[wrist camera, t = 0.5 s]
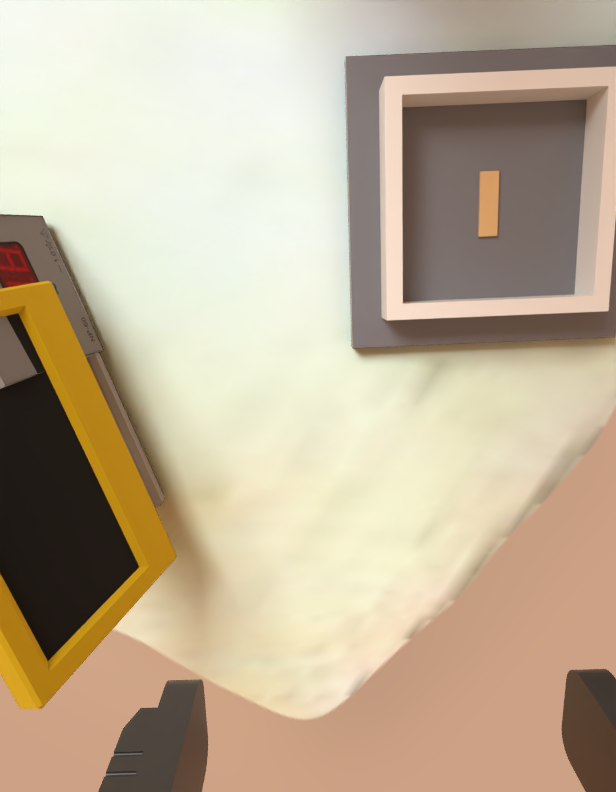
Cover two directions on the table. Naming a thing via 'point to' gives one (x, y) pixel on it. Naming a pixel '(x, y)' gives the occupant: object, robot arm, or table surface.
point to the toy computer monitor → (67, 504)
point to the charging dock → (482, 196)
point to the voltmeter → (30, 263)
